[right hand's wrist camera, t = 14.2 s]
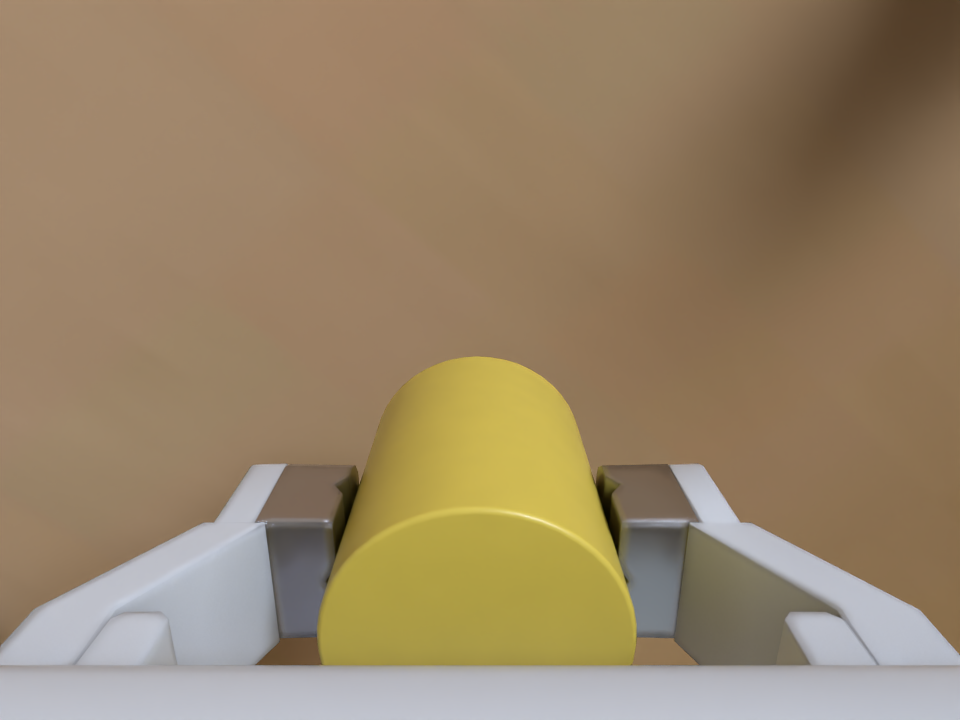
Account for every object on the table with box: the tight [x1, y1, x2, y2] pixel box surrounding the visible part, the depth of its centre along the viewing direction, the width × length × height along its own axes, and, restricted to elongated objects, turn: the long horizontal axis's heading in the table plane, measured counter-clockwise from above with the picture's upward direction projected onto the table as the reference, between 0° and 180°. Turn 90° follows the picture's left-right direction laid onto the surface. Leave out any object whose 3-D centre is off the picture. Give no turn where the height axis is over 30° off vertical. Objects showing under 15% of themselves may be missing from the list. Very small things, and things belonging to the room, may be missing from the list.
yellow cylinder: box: [317, 357, 637, 665], centre depth 10 cm, size 4×4×5 cm
